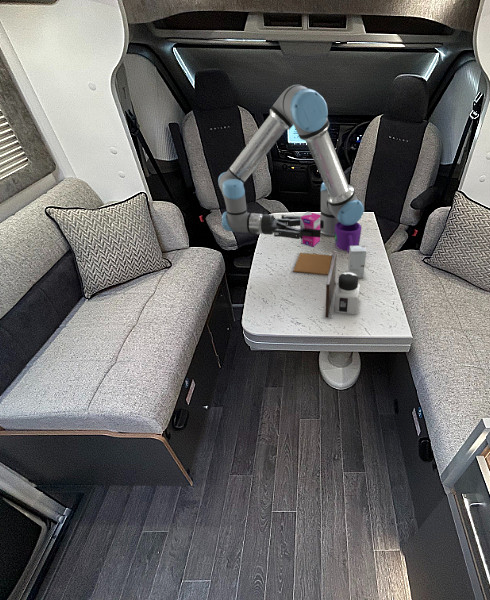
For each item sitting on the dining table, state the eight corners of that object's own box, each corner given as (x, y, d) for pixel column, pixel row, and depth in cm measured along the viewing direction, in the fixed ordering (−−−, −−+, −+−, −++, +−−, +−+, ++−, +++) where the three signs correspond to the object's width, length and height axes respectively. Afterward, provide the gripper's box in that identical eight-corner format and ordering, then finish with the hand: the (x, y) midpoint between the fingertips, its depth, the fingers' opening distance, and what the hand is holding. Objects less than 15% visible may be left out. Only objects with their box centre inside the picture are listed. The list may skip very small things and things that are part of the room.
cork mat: (300, 253, 147) (300, 252, 147) (332, 256, 146) (332, 255, 145) (293, 271, 137) (293, 270, 136) (327, 275, 135) (327, 274, 135)
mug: (333, 240, 157) (333, 220, 151) (357, 239, 158) (359, 219, 151) (336, 260, 144) (337, 239, 137) (363, 259, 144) (365, 238, 138)
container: (356, 314, 117) (359, 284, 109) (334, 312, 118) (335, 281, 110) (358, 300, 123) (361, 270, 115) (337, 298, 124) (338, 268, 116)
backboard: (332, 283, 131) (333, 251, 122) (335, 283, 131) (336, 252, 122) (325, 317, 116) (326, 284, 107) (328, 317, 116) (329, 284, 107)
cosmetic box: (348, 278, 134) (350, 251, 126) (347, 271, 137) (348, 245, 129) (363, 277, 134) (366, 251, 126) (362, 271, 137) (365, 245, 130)
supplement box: (300, 244, 132) (299, 216, 125) (307, 238, 136) (307, 210, 129) (313, 248, 130) (313, 220, 123) (320, 241, 134) (320, 214, 127)
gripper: (270, 221, 141) (325, 225, 138) (256, 245, 125) (318, 250, 123) (269, 204, 136) (325, 208, 134) (254, 227, 121) (318, 232, 118)
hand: (322, 228), depth 128 cm, fingers closed on supplement box, 7 cm apart
